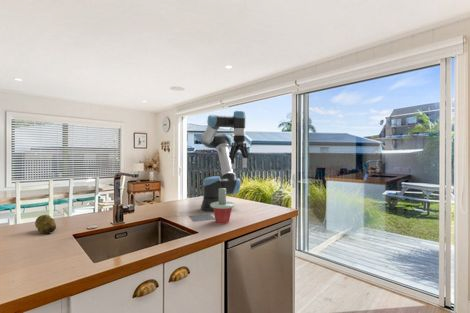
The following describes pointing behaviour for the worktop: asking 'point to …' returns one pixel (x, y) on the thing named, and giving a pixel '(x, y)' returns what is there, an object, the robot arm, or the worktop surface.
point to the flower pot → (222, 215)
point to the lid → (222, 201)
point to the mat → (201, 217)
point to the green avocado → (45, 224)
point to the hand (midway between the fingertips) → (239, 168)
